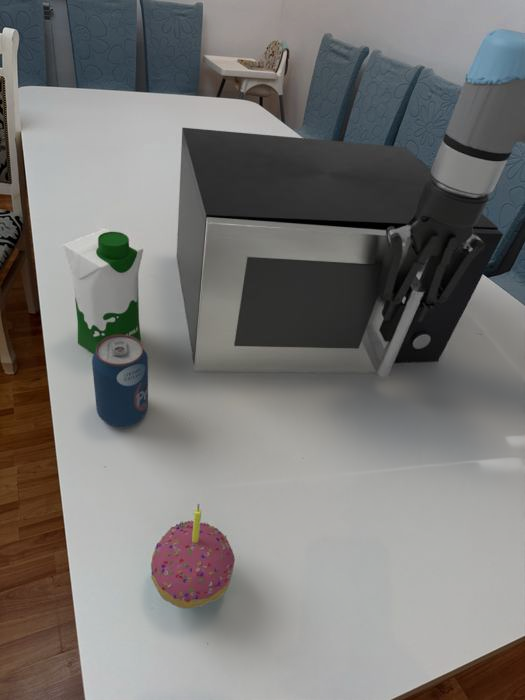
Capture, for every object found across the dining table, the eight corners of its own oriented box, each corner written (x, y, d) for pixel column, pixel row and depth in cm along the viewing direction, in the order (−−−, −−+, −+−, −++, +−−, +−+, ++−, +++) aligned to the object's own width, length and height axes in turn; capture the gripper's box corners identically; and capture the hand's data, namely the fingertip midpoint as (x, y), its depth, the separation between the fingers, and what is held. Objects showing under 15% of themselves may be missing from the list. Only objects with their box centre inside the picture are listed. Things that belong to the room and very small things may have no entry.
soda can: (150, 428, 69) (151, 365, 61) (98, 434, 67) (91, 370, 59) (145, 392, 74) (144, 329, 66) (96, 397, 72) (89, 333, 64)
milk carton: (107, 370, 76) (99, 256, 63) (68, 343, 79) (53, 229, 66) (149, 344, 82) (149, 235, 69) (111, 319, 85) (104, 211, 72)
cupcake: (153, 545, 56) (154, 484, 49) (227, 543, 58) (240, 484, 50) (148, 626, 50) (148, 571, 42) (232, 621, 51) (247, 567, 44)
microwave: (439, 365, 89) (507, 235, 73) (195, 374, 78) (208, 223, 61) (368, 261, 115) (406, 147, 98) (176, 256, 104) (182, 127, 87)
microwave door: (392, 399, 80) (455, 262, 64) (196, 399, 74) (210, 247, 57) (377, 366, 86) (432, 233, 70) (194, 364, 80) (206, 216, 63)
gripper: (500, 178, 63) (430, 322, 78) (389, 165, 60) (338, 318, 75) (531, 204, 58) (449, 354, 73) (411, 191, 55) (352, 351, 70)
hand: (393, 335), depth 74 cm, fingers open, 2 cm apart
